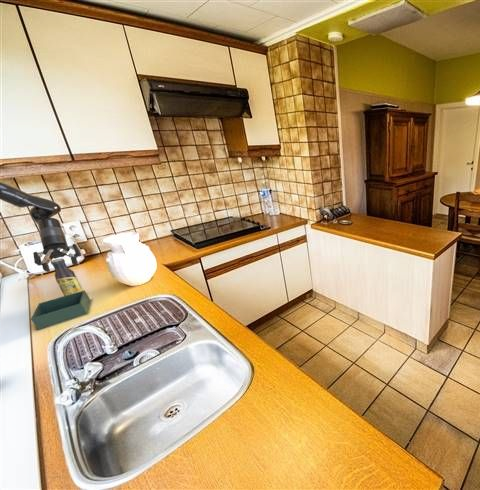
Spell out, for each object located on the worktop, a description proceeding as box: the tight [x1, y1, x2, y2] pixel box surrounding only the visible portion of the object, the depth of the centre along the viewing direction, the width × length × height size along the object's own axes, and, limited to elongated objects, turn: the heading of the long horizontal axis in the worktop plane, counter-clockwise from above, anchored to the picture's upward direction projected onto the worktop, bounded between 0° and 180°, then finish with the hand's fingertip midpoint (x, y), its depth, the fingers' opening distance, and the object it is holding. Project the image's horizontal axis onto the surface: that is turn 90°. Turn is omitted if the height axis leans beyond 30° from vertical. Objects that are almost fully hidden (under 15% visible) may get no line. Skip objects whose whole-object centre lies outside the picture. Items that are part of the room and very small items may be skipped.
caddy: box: [30, 289, 91, 331], centre depth 113 cm, size 14×14×5 cm
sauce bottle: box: [50, 257, 84, 296], centre depth 122 cm, size 6×6×20 cm
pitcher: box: [102, 231, 158, 287], centre depth 133 cm, size 19×18×25 cm
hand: (61, 268), depth 122 cm, fingers open, 8 cm apart
